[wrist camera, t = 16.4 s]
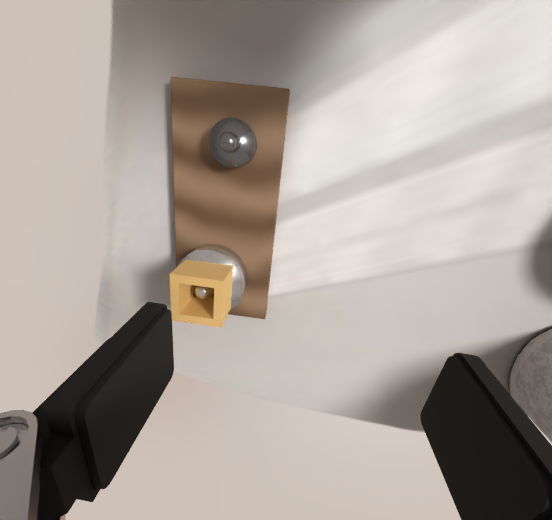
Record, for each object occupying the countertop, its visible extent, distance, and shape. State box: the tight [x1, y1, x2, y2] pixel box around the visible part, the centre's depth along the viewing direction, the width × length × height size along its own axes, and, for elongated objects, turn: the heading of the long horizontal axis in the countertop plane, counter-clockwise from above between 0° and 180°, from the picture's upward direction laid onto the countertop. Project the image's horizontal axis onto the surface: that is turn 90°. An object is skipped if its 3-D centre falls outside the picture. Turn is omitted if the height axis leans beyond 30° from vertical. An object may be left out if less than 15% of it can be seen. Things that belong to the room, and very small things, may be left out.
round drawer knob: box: [209, 117, 257, 167], centre depth 29 cm, size 5×5×4 cm
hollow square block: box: [170, 259, 233, 328], centre depth 32 cm, size 6×6×4 cm
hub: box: [177, 244, 247, 310], centre depth 35 cm, size 9×9×6 cm
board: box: [171, 77, 290, 319], centre depth 35 cm, size 29×13×2 cm, turn 174°
